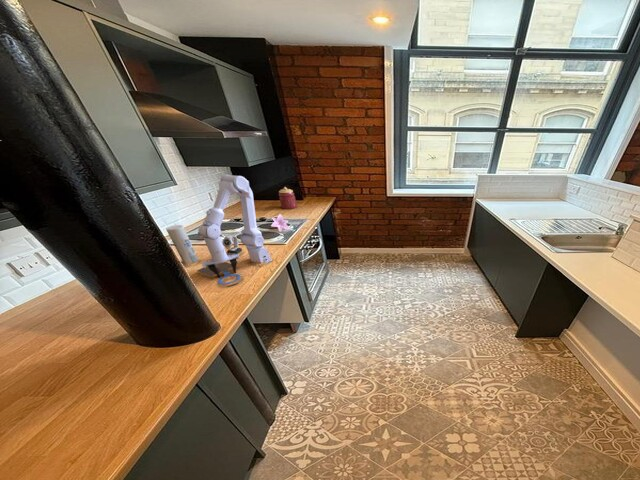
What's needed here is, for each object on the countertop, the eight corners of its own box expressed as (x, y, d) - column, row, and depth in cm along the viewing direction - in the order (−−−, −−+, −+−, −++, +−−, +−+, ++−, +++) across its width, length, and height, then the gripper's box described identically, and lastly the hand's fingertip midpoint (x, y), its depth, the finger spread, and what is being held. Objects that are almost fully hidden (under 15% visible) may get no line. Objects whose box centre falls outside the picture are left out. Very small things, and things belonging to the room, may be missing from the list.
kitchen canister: (283, 205, 227) (278, 185, 218) (298, 205, 229) (294, 185, 220) (279, 209, 216) (274, 188, 207) (295, 209, 218) (291, 188, 209)
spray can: (186, 261, 131) (169, 225, 121) (201, 259, 133) (185, 224, 123) (182, 267, 126) (163, 230, 116) (197, 265, 128) (180, 228, 118)
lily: (270, 234, 169) (272, 223, 164) (268, 223, 175) (270, 212, 170) (289, 236, 177) (291, 226, 171) (287, 225, 183) (289, 215, 177)
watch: (226, 257, 137) (218, 239, 131) (236, 251, 143) (229, 233, 138) (235, 257, 136) (228, 239, 131) (245, 251, 143) (238, 233, 138)
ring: (243, 282, 115) (241, 277, 114) (221, 289, 110) (218, 283, 109) (238, 272, 123) (236, 267, 121) (216, 278, 118) (214, 273, 116)
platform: (236, 267, 127) (233, 259, 124) (212, 278, 117) (208, 269, 115) (221, 262, 131) (218, 254, 128) (197, 273, 121) (192, 264, 119)
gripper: (233, 243, 119) (242, 267, 126) (196, 251, 110) (208, 277, 117) (236, 248, 114) (246, 273, 121) (198, 257, 106) (210, 283, 113)
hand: (227, 275), depth 119 cm, fingers open, 6 cm apart
